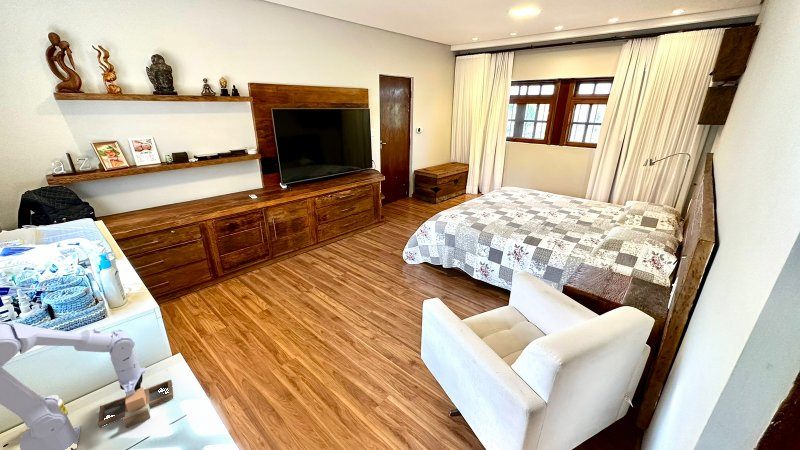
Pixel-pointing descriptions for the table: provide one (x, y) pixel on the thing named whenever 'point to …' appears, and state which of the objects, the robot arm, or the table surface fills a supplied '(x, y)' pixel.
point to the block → (136, 400)
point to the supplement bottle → (60, 404)
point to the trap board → (139, 414)
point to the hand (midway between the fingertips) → (136, 393)
